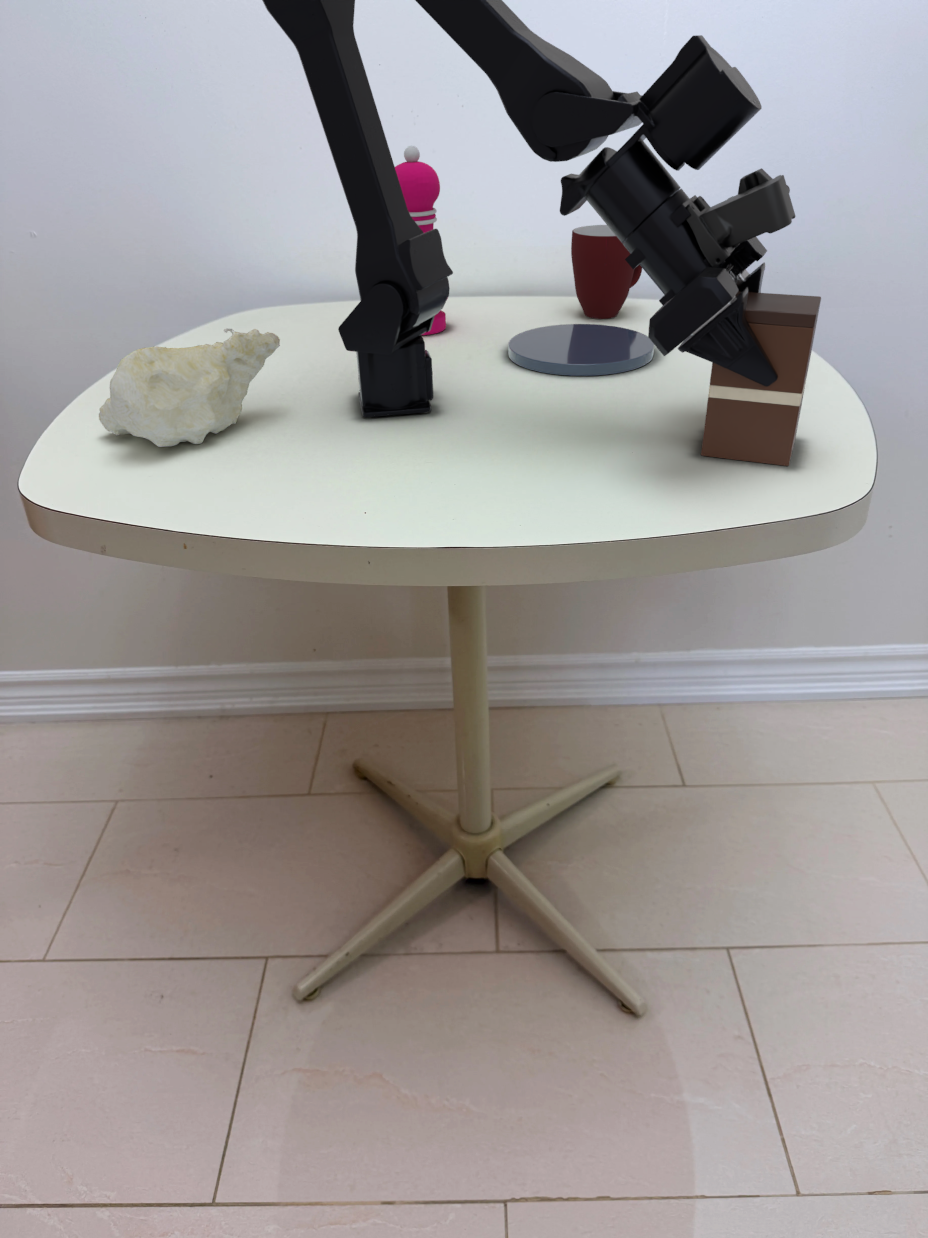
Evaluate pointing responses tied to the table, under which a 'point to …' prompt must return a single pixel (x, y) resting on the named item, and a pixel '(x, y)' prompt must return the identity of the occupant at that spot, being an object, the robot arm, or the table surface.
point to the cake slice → (751, 412)
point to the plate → (581, 349)
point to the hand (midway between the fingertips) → (777, 371)
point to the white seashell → (184, 388)
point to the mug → (601, 271)
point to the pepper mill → (421, 203)
